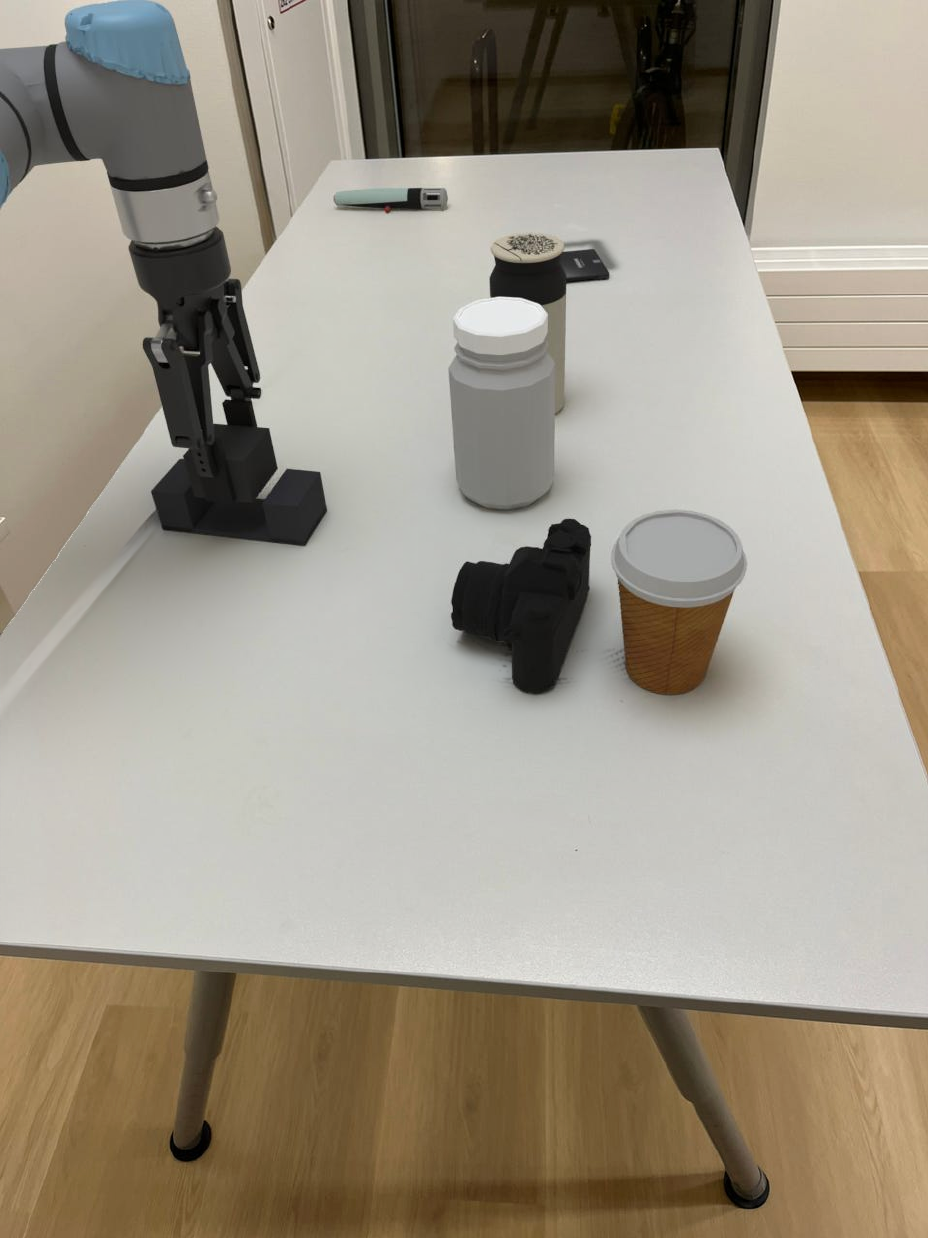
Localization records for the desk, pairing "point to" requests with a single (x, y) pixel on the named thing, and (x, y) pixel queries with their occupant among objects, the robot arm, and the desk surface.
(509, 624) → the film camera
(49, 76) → the robot arm
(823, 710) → the desk surface
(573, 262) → the solid state drive
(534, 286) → the travel mug
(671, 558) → the disposable coffee cup
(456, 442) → the jar
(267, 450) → the small block
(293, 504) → the notched block
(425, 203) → the teal pen-shaped device
